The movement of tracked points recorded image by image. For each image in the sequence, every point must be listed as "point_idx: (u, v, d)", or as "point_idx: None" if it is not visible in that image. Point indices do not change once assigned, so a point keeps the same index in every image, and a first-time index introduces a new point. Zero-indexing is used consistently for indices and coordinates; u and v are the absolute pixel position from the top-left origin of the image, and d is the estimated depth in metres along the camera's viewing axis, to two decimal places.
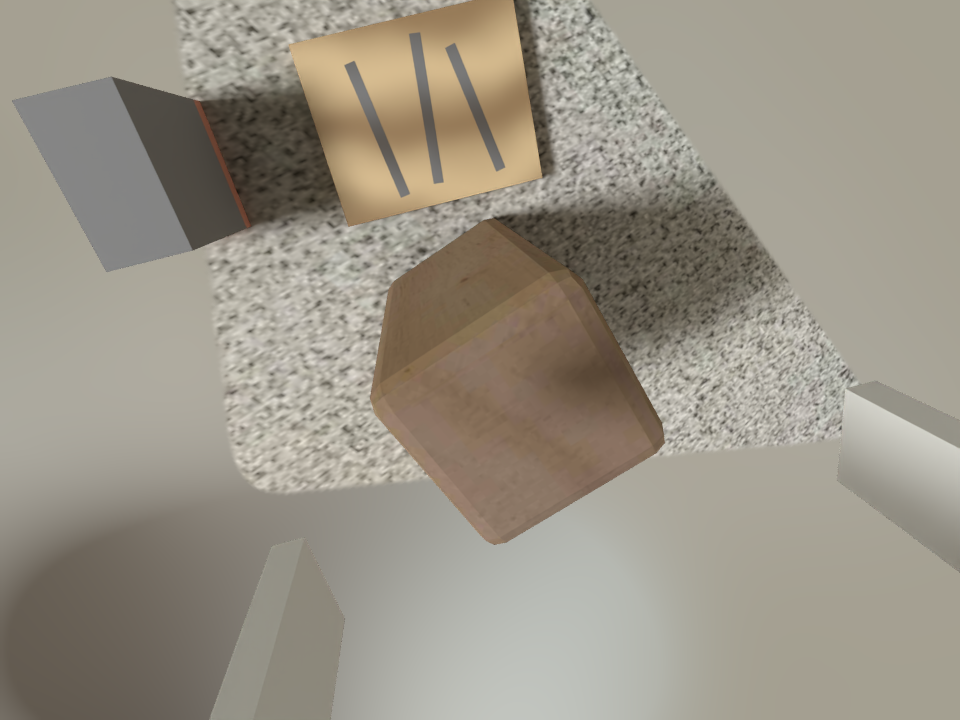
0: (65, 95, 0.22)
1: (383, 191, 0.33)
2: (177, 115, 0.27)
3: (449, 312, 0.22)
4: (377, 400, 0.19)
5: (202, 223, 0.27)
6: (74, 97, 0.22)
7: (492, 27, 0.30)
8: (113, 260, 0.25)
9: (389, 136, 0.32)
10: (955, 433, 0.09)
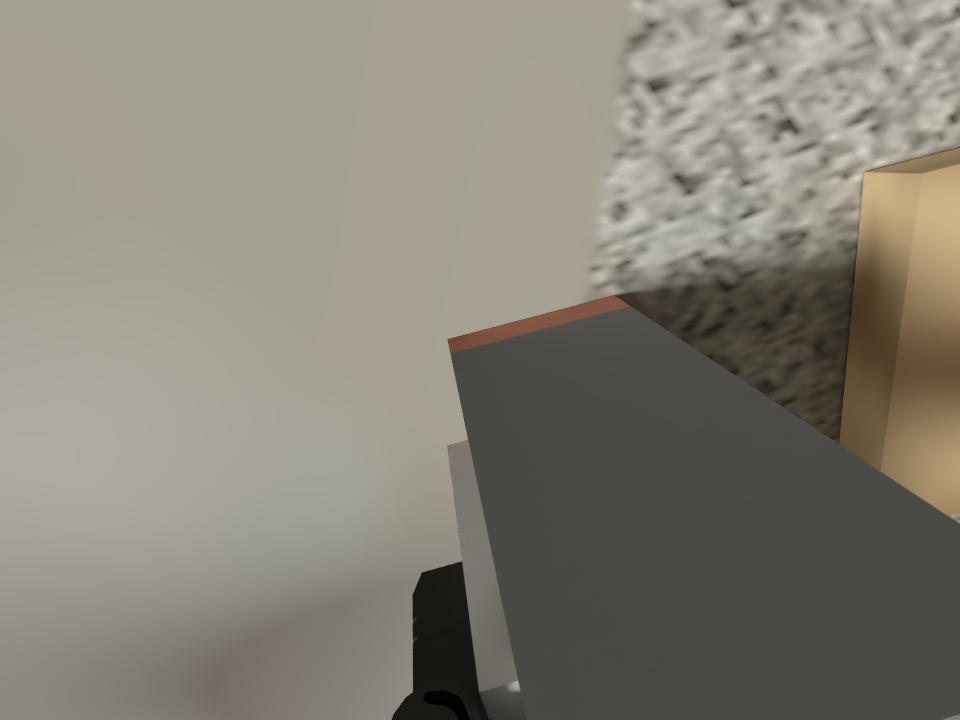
0: None
1: None
2: None
3: None
4: None
5: None
6: None
7: None
8: None
9: None
10: None
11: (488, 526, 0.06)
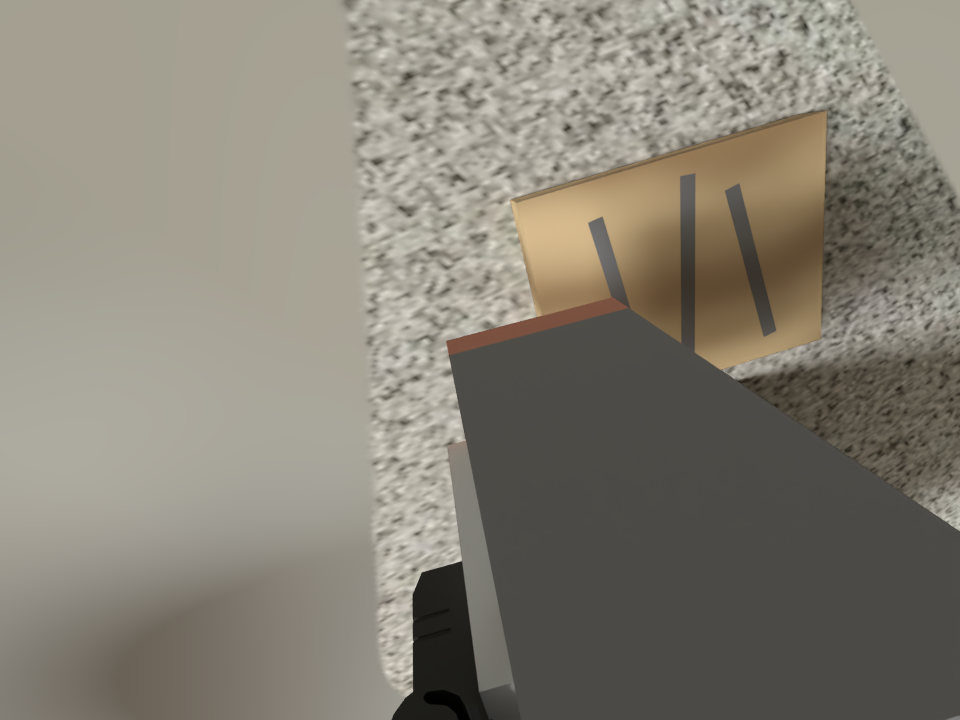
0: None
1: None
2: None
3: None
4: None
5: None
6: None
7: (792, 159, 0.21)
8: None
9: (634, 306, 0.23)
10: None
11: (485, 529, 0.06)
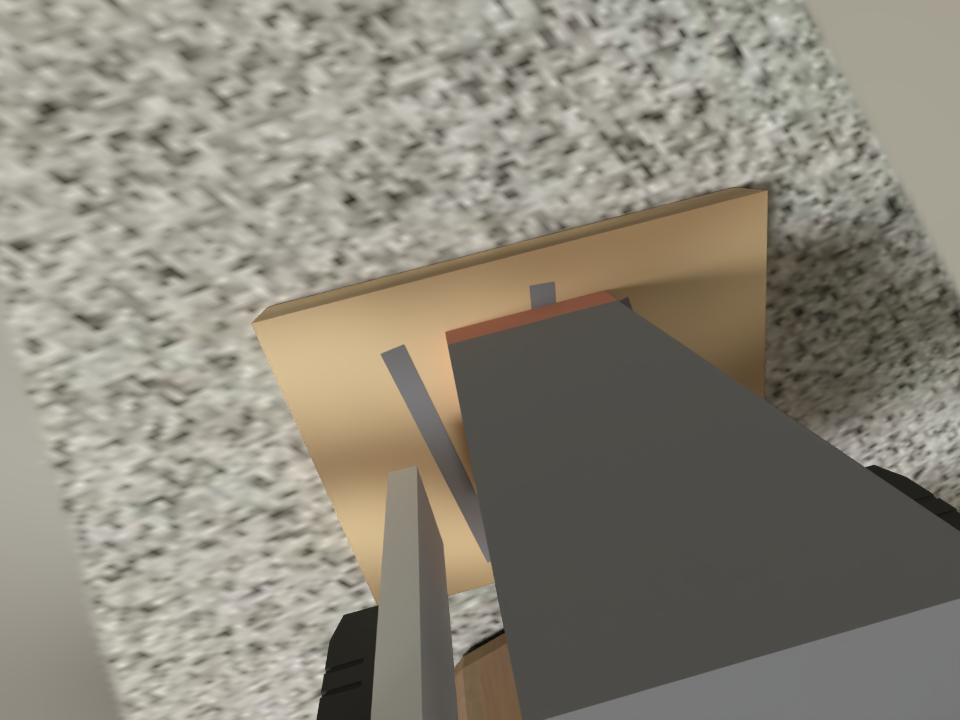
0: (781, 671, 0.04)
1: (453, 556, 0.16)
2: None
3: None
4: None
5: None
6: (815, 672, 0.04)
7: (713, 263, 0.13)
8: None
9: None
10: None
11: (479, 493, 0.07)
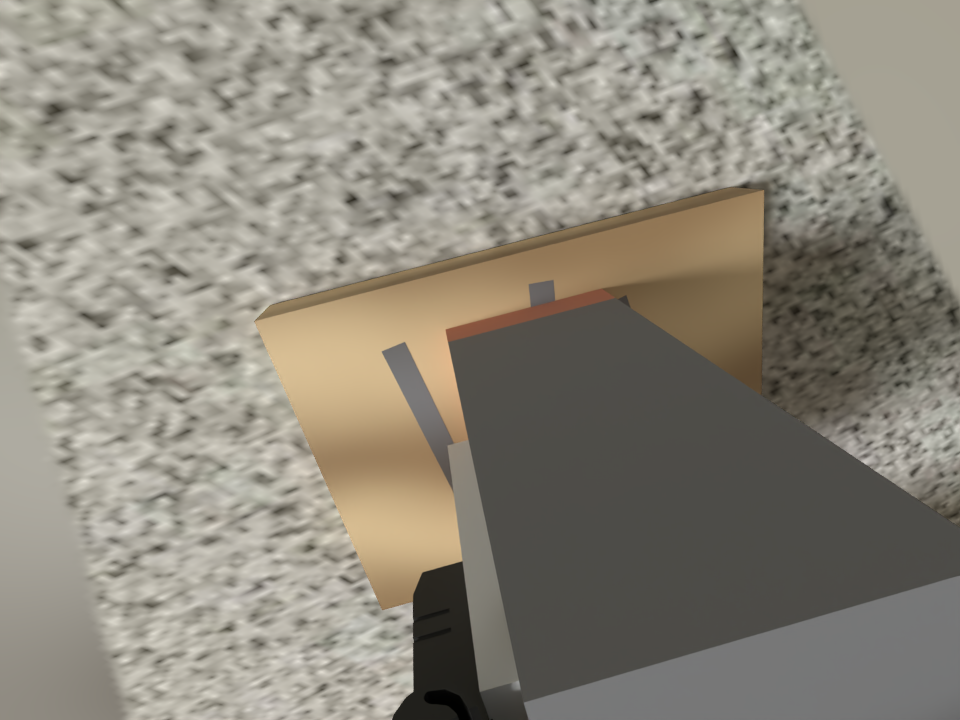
0: (771, 650, 0.04)
1: (453, 552, 0.16)
2: None
3: None
4: None
5: None
6: (804, 651, 0.04)
7: (710, 262, 0.14)
8: None
9: None
10: None
11: (479, 484, 0.07)
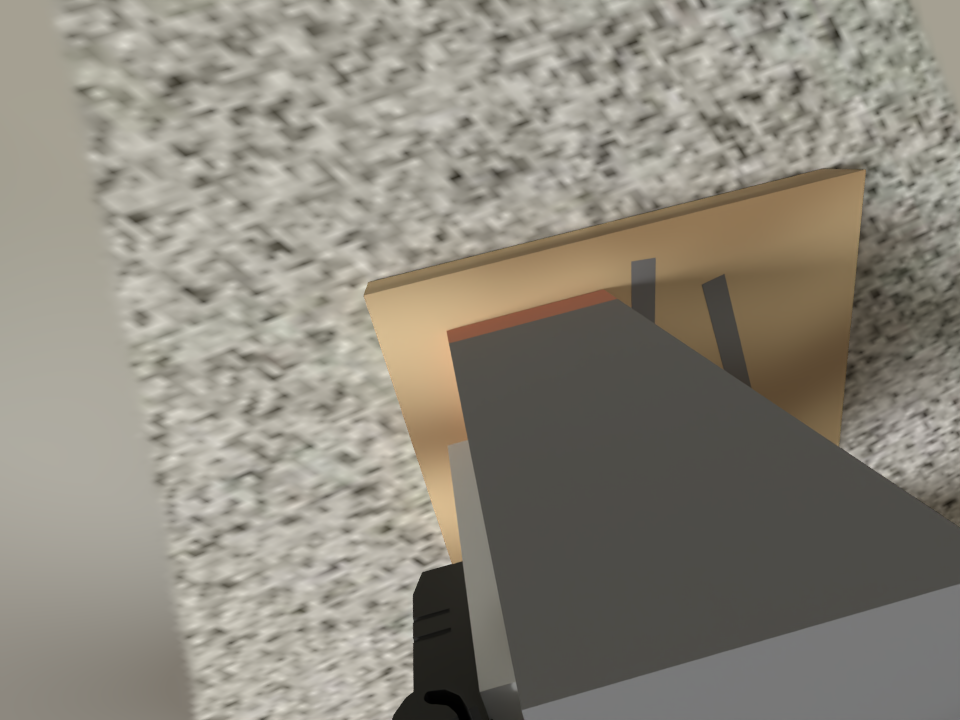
0: (773, 658, 0.04)
1: None
2: None
3: None
4: None
5: None
6: (808, 659, 0.04)
7: (808, 241, 0.14)
8: None
9: None
10: None
11: (479, 487, 0.07)
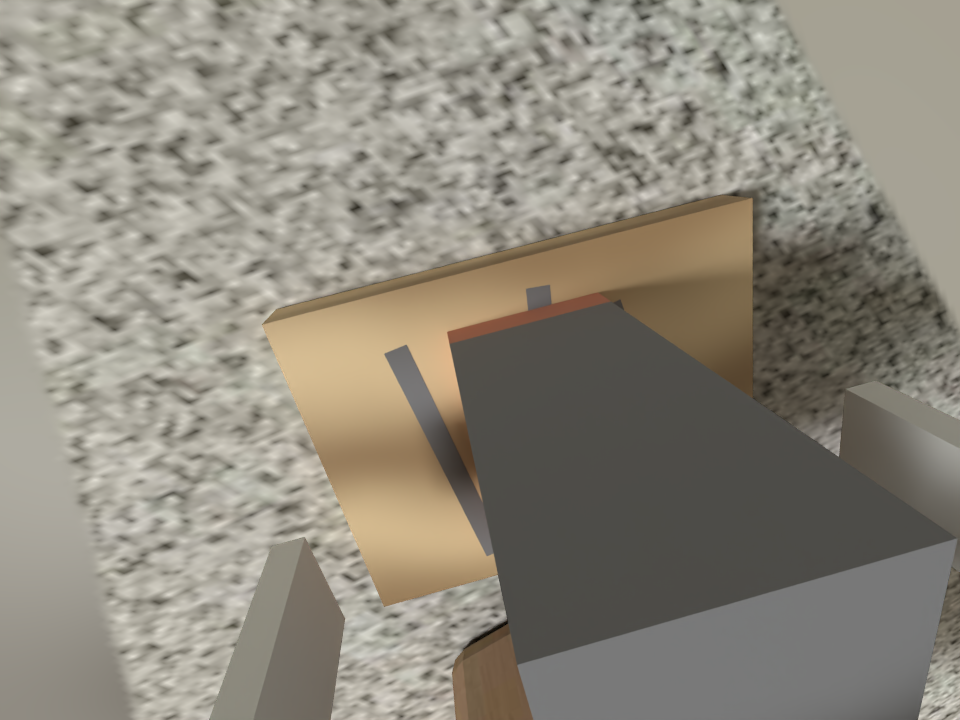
0: (741, 620, 0.05)
1: (453, 549, 0.17)
2: None
3: None
4: None
5: None
6: (772, 621, 0.05)
7: (701, 267, 0.14)
8: None
9: (471, 465, 0.16)
10: (955, 433, 0.09)
11: (478, 476, 0.07)
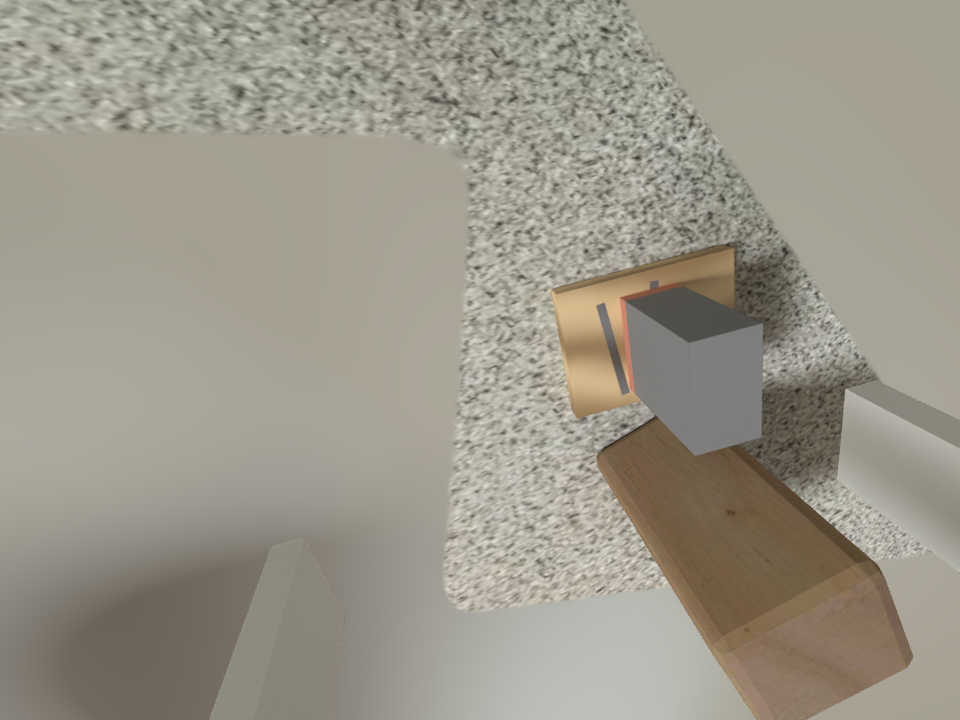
0: (726, 337, 0.28)
1: (609, 391, 0.40)
2: None
3: (747, 562, 0.29)
4: (724, 651, 0.26)
5: None
6: (731, 338, 0.28)
7: (714, 273, 0.37)
8: (704, 447, 0.31)
9: (621, 353, 0.39)
10: (955, 433, 0.09)
11: (663, 326, 0.30)
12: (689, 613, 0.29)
